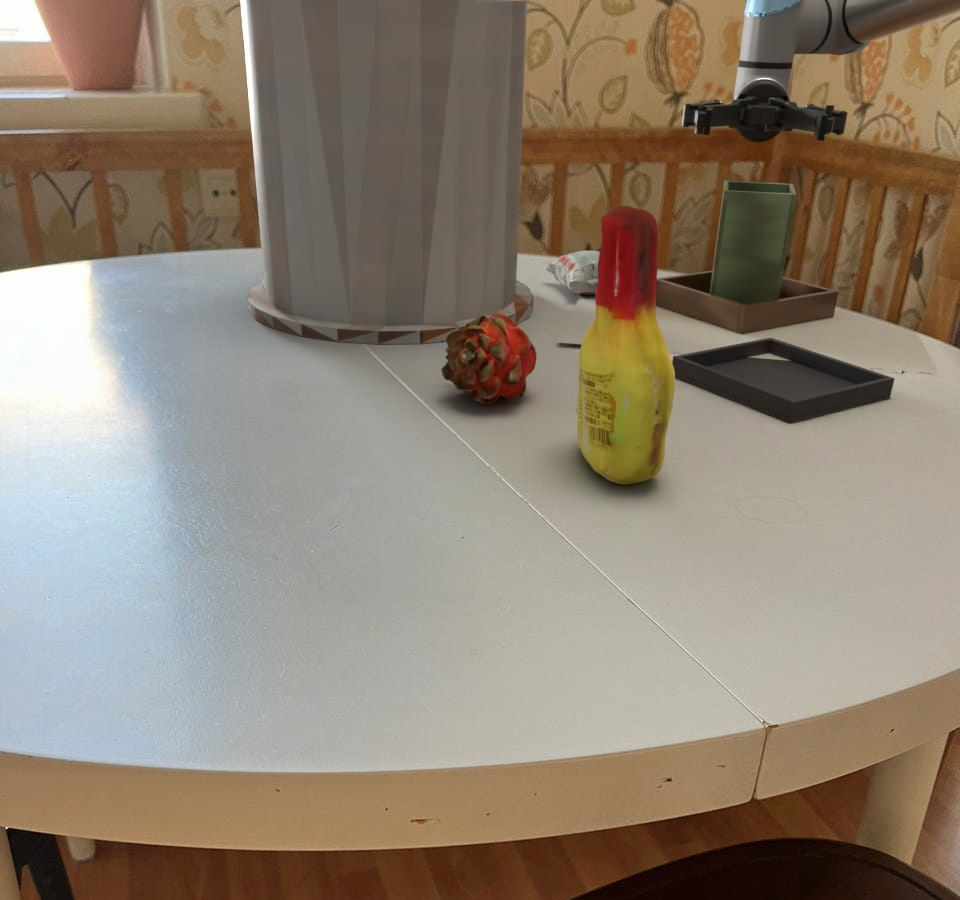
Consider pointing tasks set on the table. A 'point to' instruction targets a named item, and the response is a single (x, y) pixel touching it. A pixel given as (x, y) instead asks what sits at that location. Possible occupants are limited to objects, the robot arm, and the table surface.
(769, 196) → the tall basket
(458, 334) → the dragon fruit
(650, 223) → the bottle
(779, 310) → the brown wooden tray
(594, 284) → the packaged food
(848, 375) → the tray
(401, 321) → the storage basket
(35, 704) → the table surface
